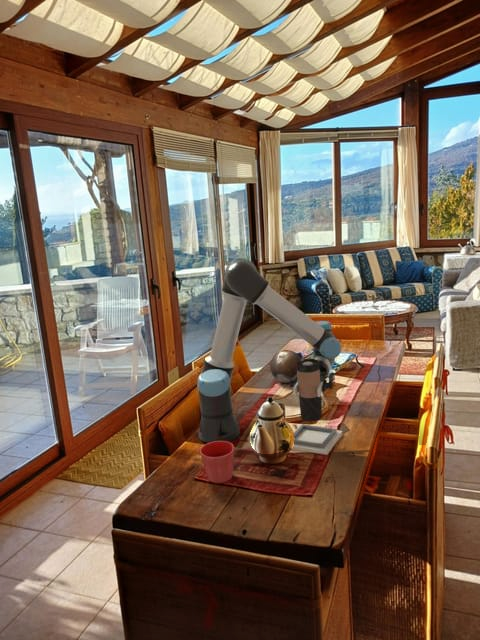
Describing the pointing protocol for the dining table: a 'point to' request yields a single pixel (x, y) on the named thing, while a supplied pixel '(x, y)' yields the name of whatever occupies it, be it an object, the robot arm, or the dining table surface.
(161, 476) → the dining table surface
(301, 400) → the travel mug
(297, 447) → the mug stand
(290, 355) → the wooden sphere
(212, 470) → the flower pot
